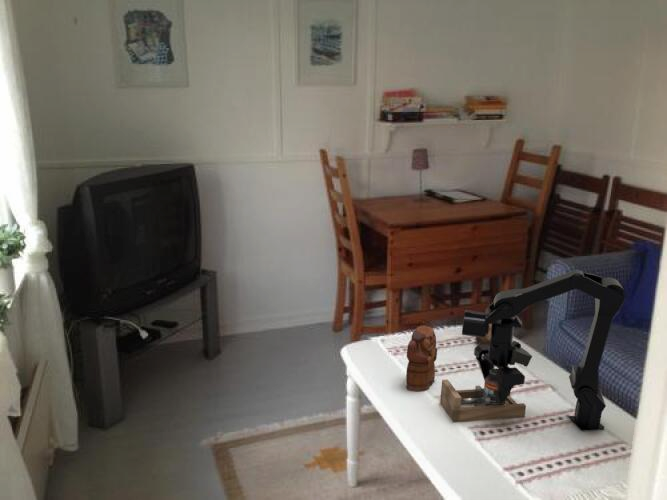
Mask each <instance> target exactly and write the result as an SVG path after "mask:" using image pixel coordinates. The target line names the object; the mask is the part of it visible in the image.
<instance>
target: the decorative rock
mask: <svg viewBox="0 0 667 500" xmlns="http://www.w3.org/2000/svg"><path fill="white" fill-rule="evenodd" d="M491 325H492V324H489V329H488V334H486V335H485V337H484V336H483V338H481V337H475V341H476V342H477V343H478V344H477V345H488V344H487V340H490V334H491Z"/></svg>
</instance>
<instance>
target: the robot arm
mask: <svg viewBox="0 0 667 500" xmlns="http://www.w3.org/2000/svg"><path fill="white" fill-rule="evenodd" d="M574 290H578V291H581V292H583V293H584V294H587V295H588V296H591V297H592V298H594V301H595V304H594V308H595V310H594V312H595V313H594V315H593V319H592V323H591V327H590V330H589V334H588V339H587V342H586V345H585V349H584V352H583V356H582V360H581V362H580V363H579V364H578V365H577V364H575V363H574V364H572V368H571V369H572V370H571V372H570V374H569V376H568V377H569V382H570V387H571V389H572V392H573V395H574V397H575V399H577V400H576V403H575V408H574V409H575V410H574V415H569V417H568V418H569V420H570V421H571V422H572V423H573V424H574V425H575V426H576V427H578V429H579V430H581V431H583V432H586V431H587V432H588V431H602V430H603V431H604V430H605V426H604V425H603V424H602V423H601V421H602V420H601V419H602V414H603V411H604V409H605V408H606V407H607V406H606V402H605V400H604V397H603V394H602V390H601V389H600V388H599V386H600V380H599V379H600V378H599V376H600V375H599V373H600V372H599V370H600V366H601V362H602V358H603V356H604V355H603V354H604V351H605V348H606V344H607V341H608V337H609V333H610V330H611V326H612V323H613V320H614V319H615V317H616V315H618V313H619V312H620V310H621V308H622V306H623V304H624V302H625V301H626V298H627V297H626V296H627V294H626V291H625V290H624V288H623V287H622V285H621V283H620V282H619V280H617V279H616V278H615V277H614V278H613V277H609V276H608V277H605V278H604V277H602V276H599V275H597V274H592V273H588V272H584V271H582V270H579V269H572V270H570V271H568V272H566V273H564V274H561V275H557V276H555V277H552V278H550V279H547V280H545V281H542V282H539V283H536V284H534V285H531V286H528V287H524V288H513V289H507V290H502V291H500V292H498V293H497V294H496V295H495V297H494V299H493V302H492V303H491V304H490V305H489V306H488V307H487V308H486V309H485V312H482V311H475V310H470V309H465V310H464V317H463V321H462V329H461V336H468V337H475V338H476V337H481V338H483V336H484V337H485V335H486V334H488V329H489V324H492V325H491V334H490V340H487V344H488V345H480V344H477V346H476V347H474V351H473V355H474V356H475V360H476V362H477V364H478V366H479V369H480V372H481V374H482V377H483V380H484V382H485V378H486V377H487V376H489V371H490V369H493V368H495V367H496V368H497V369H499V370H498V371H497V373H496V377H497V379H496V384H497V389H498V393H499V398H500V401H501V402H504V401H505V400H506V398H507V396H508V394H509V393H510V391H512V389H513V387H515V386H520V385H524V384H525V380H526V375H524V374H523V372H522V371H521V370H519V369H518V368H517V367H510V366H515V364H516V363H517V364H519V365H522V366H524V367H526V368H527V367H528V366H529V364H530V362H531V360H532V358H533V356H532V354H530V353H529V352H528V351H527V350H526V349H524V348H522V344H521V343H520V342H519V341H516V340H513V339H514V330H515V328H522V327H523V321H522V320H521V319H520V318H519V317H518V315H519V314H521V313H523V312H524V311H525V310H527V309H528V308H529V307H531V306H533V305H534V304H538V303H541V302H544V301H546V300H547V301H548V300H549V299H552V298H554V297H557V296H560V295H563V294H566V293H569V292H572V291H574ZM509 365H510V366H509ZM510 394H511V393H510Z"/></svg>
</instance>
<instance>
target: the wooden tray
mask: <svg viewBox="0 0 667 500" xmlns="http://www.w3.org/2000/svg"><path fill="white" fill-rule="evenodd" d="M482 389H483V390H484V388H482ZM511 391H512V390H511ZM511 391H510V393H509V394H508V396H507V398H506V402H505V405H491V406H477V405H475V406H465V407H464V406H463V407H462V404H463V405H464V404H475V403H474V402H463V403H462V399H465V398H474V396H475V388H473V389H460V390H459V389H458V390H457V389H456V388H455V387H454V386H453V384H452V383H451V381H450V379H441V389H440V400H439V403H440V405H441V406H442V408H443V409H444V411H445V412H446V414H447V415H448V416H449V419H450V420H451V421H452V423H461V422H476V421H493V420H505V419H507V420H508V419H521V418H522V419H523V418H525V417H526V409H527V405H526V404H525V403H522V402H521V403H517V402H516V400H514V399H513V397H512V396H511Z"/></svg>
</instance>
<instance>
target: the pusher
mask: <svg viewBox="0 0 667 500" xmlns="http://www.w3.org/2000/svg"><path fill="white" fill-rule="evenodd" d="M474 389H475V396H474V398H465V399H462V403H463V402H474V403H473V404H475V406H489V404H490V397H489V396H488V395H487V394H486V392H485V391H484V390H483V389H484V388H482V386H481V385H475V388H474Z"/></svg>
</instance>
